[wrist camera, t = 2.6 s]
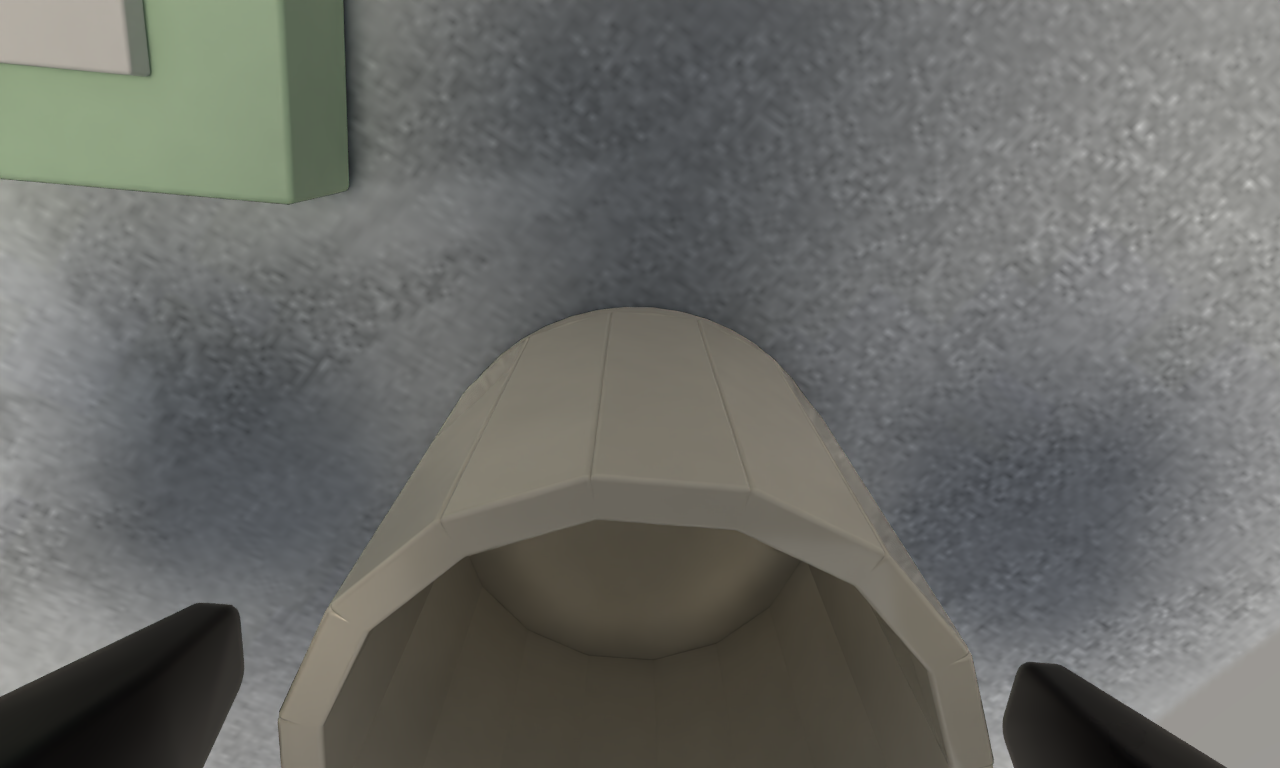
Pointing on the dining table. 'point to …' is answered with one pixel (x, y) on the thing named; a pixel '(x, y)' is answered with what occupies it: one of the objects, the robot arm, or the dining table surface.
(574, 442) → the ramekin
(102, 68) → the scale
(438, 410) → the dining table surface
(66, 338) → the dining table surface
